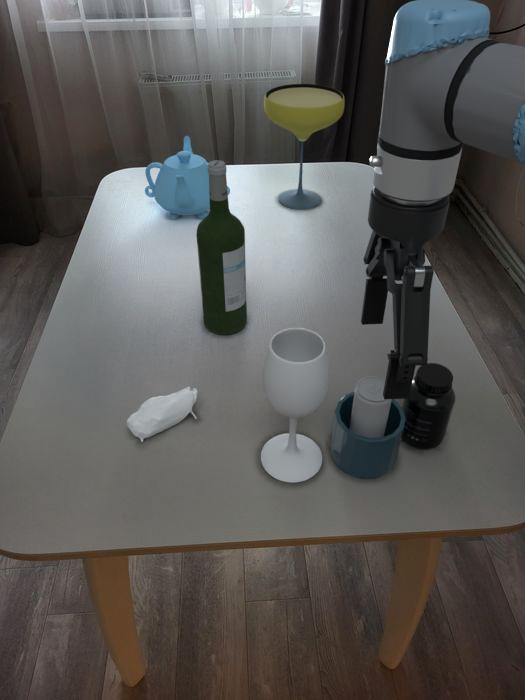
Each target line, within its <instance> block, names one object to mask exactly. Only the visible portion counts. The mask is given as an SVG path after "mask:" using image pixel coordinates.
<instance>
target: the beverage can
mask: <svg viewBox="0 0 525 700" xmlns="http://www.w3.org/2000/svg"><path fill="white" fill-rule="evenodd" d="M385 380H386V378H383V377H381V376H378V375H367V376H363V377H361V378H360V379H359V380H358V381H357V383H356V385H355V389H354V391H355V393H354V400H353V407H352V415H351V422H350V428H349V430H351V431H352V432H354V433H356V434H357V435H361V436H364V437H368V438H383V437H384V433H385V429H386V424H387V419H388V415H389V410H390V405H391V401H392V399H384V397H383V391H384V385H385Z"/></svg>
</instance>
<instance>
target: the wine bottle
mask: <svg viewBox="0 0 525 700" xmlns="http://www.w3.org/2000/svg"><path fill="white" fill-rule="evenodd" d="M208 163H209V165H208V173H209V197H210V209H209V210H208V215H206V216H205V217H204V218H201V220H200V221H199V223H198V225H197V227H196V235H195V236H196V248H197V258H198V270H199V282H200V292H201V294H200V295H201V305H202V314H203V315H202V316H203V324H204V327H205V328H206V329H207V330H208V331H209V332H211V333H213V334H215V335H218V336H219V335H220V336H230V335H235V334H236V333H239V332H241V331H242V330H243V329H244V328H245V327H246V325H247V323H248V310H247V306H248V305H247V269H246V265H247V264H246V262H247V261H246V232H245V231H246V230H245V226H244V224H243V223H242V222H241V220H240V219H239V218H238V217H237V216H236V215H234V214H233V213H232V212H231V210H230V205H229V195H228V192H227V186H228V183H227V165H226V162H225V161H223V160H222V159H221V160H219V159H214V160H211V161H209V162H208Z"/></svg>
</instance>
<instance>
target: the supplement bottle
mask: <svg viewBox="0 0 525 700" xmlns="http://www.w3.org/2000/svg"><path fill="white" fill-rule="evenodd" d="M453 382H454V375H453V373H452V371H451V370H450V369H449V368H448V367H447V366H445V365H442V364H440V363H435V362H427V365H419V366H418V368H417V369H416V373H415V375H414V377H413V380H412V384H411V389H410V393H409V398H406V399H402V400H401V401H402V402H401V405H400V406H401V407H402V408H403V411H404V414H405V418H406V420H405V425H404V429H403V433H402V437H401V441H403V442H404V443H405V444H406V445H408V446H410V447H411V448H414V449H418V450H431V449H435V448H437V447H438V446H439V445H441V443H443V441H444V439H445V436H446V433H447V430H448V426H449V423H450V420H451V418H452V417H451V416H452V413H453V411H454V410H453V409H454V406H455V403H456V393H455V390H454V388H453Z"/></svg>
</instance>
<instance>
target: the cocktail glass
mask: <svg viewBox="0 0 525 700" xmlns="http://www.w3.org/2000/svg"><path fill="white" fill-rule="evenodd" d="M345 103H346V100H345V96H344V94H343V92H341V91H340V90H338V89H336V88H333V87H331V86H327V85H322V84H315V83H291V84H284V85H283V84H282V85H278V86H276V87H275V86H274V87H272V88H270V89H269V90H267V91H266V93H265V94H264V99H263V109H264V114H265V115H266V117H267V118H268V119H269V120H270V121H271V122H272V123H273V124H274V125H277V126H278V127H280V128H282V129H285V130H287V131H289V132H291V133H292V134H294V136H295V137H296V139H297V140H298V141H300V154H299V155H300V158H299V173H298V174H299V175H298V186H297V189H290V190H286V191H283V192H281V193H280V194H279V195H278V197H277V200H278V202H279V203H280V205H282V206H283V207H285V208H287V209H291V210H310V209H313V208H316V207H317V206H319V205H320V204H321V202H322V197H321V196H320V194H318V193H317V192H315V191H312V190H310V189H309V190H308V189H303V166H304V164H303V163H304V144H305V142H306V141H307V140H308V139H309V138H310V136H311V135H313V134H314V133H316V132H318V131H321V130H325V129H326V128H328V127H330V126H332V125H334V124H335V123H336V122H338V121H339V120H340V119H341V117H342V116H343V114H344V112H345Z"/></svg>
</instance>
